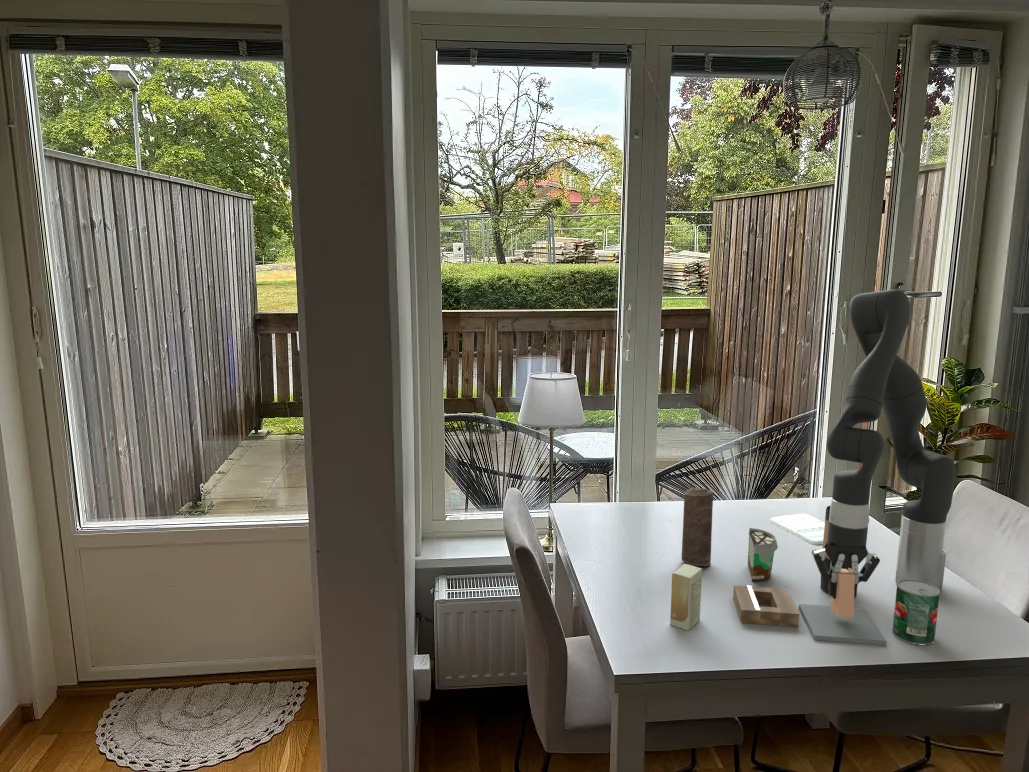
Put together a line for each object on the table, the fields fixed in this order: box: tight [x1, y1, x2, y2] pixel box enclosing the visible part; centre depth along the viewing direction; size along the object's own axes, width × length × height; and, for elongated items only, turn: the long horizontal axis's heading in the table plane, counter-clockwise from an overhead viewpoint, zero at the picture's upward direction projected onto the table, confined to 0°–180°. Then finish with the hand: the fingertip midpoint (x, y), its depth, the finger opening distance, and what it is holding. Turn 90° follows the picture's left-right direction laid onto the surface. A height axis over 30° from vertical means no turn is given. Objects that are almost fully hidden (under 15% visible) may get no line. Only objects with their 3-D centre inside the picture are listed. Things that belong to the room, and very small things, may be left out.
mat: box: [798, 603, 887, 646], centre depth 156 cm, size 14×14×1 cm
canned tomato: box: [891, 579, 941, 645], centre depth 151 cm, size 8×8×11 cm
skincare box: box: [669, 563, 703, 631], centre depth 156 cm, size 6×4×12 cm
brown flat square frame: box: [732, 584, 800, 628], centre depth 162 cm, size 12×12×3 cm
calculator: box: [769, 512, 825, 546], centre depth 212 cm, size 13×20×2 cm, turn 18°
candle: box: [681, 487, 714, 567], centre depth 186 cm, size 8×7×20 cm
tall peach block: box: [830, 569, 855, 618], centre depth 155 cm, size 3×6×9 cm, turn 171°
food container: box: [747, 527, 779, 583], centre depth 181 cm, size 12×6×10 cm, turn 168°
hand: (841, 597), depth 155 cm, fingers closed on tall peach block, 2 cm apart
